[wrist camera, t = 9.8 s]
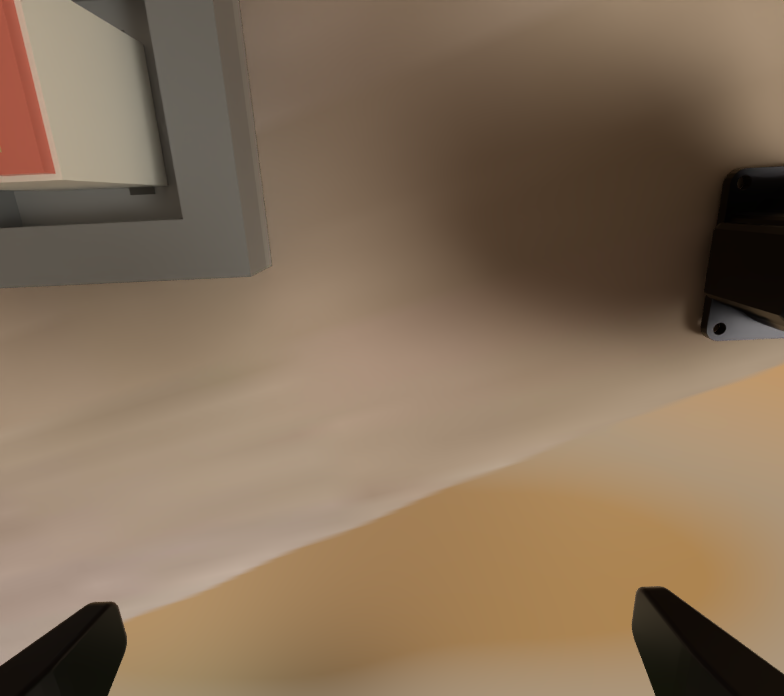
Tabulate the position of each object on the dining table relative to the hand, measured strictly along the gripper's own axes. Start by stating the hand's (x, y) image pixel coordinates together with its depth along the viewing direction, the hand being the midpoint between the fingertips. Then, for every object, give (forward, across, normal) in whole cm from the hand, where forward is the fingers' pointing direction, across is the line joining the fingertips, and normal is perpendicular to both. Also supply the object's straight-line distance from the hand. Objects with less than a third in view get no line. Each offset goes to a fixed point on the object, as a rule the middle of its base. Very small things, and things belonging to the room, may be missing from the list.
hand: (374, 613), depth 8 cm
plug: (+12, +10, -10) cm, 18 cm away
